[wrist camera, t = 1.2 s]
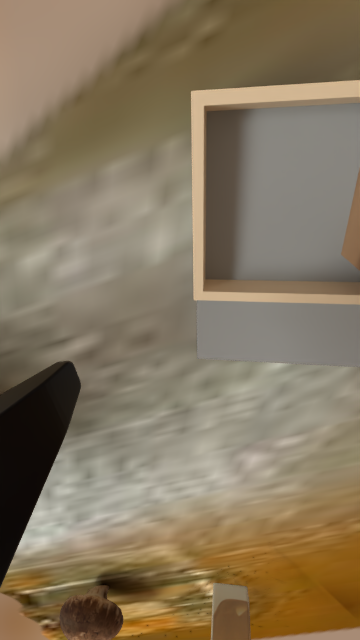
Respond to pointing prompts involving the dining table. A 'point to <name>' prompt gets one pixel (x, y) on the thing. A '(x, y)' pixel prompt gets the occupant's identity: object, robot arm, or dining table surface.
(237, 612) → the skincare box
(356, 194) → the block
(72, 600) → the mushroom
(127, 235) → the dining table surface
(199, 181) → the deck
